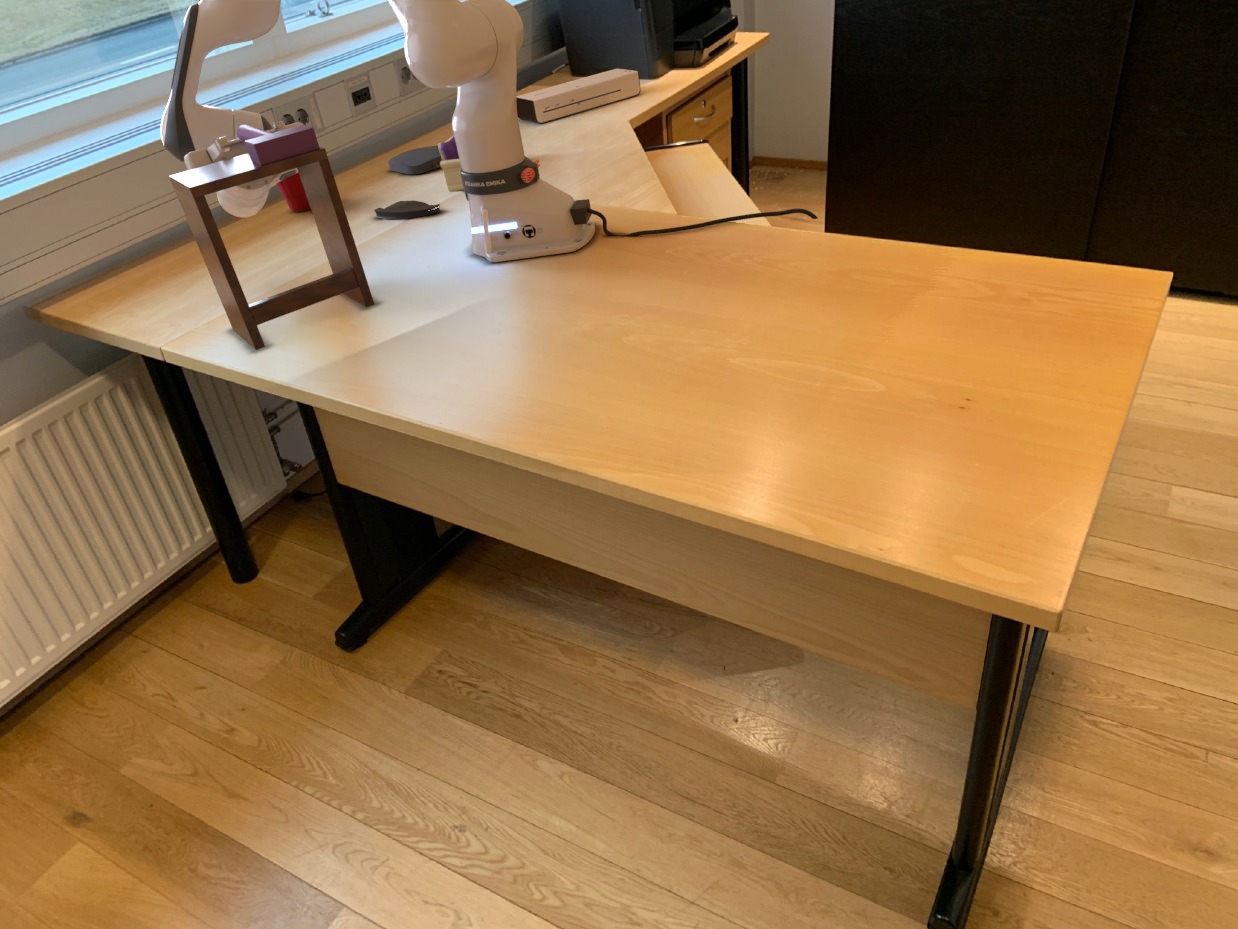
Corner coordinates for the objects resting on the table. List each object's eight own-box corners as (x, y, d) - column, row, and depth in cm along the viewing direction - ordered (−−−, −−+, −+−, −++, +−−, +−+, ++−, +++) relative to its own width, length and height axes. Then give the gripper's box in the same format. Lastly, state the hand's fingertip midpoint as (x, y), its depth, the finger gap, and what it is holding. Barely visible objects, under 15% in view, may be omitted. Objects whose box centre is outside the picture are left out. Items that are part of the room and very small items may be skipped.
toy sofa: (483, 189, 192) (472, 140, 187) (446, 192, 194) (434, 144, 189) (511, 160, 209) (502, 115, 203) (477, 164, 211) (467, 119, 205)
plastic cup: (269, 215, 199) (249, 161, 193) (303, 199, 207) (285, 146, 200) (303, 217, 194) (284, 161, 188) (337, 200, 202) (320, 146, 195)
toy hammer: (220, 148, 142) (213, 129, 140) (274, 133, 146) (268, 114, 144) (261, 165, 127) (253, 144, 126) (319, 148, 131) (313, 127, 130)
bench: (346, 287, 153) (297, 139, 139) (374, 304, 145) (325, 148, 131) (233, 329, 144) (168, 175, 131) (256, 350, 136) (189, 187, 122)
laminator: (537, 125, 236) (532, 100, 233) (515, 120, 245) (511, 96, 242) (641, 94, 249) (638, 70, 246) (617, 90, 259) (614, 67, 255)
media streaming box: (384, 170, 219) (381, 158, 217) (434, 153, 226) (431, 141, 224) (415, 177, 209) (411, 164, 207) (466, 159, 216) (463, 146, 215)
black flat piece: (420, 222, 179) (418, 214, 178) (374, 218, 186) (372, 210, 185) (448, 208, 184) (446, 200, 183) (402, 204, 191) (400, 197, 190)
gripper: (176, 168, 148) (176, 132, 135) (292, 135, 157) (303, 98, 144) (194, 203, 148) (196, 171, 136) (309, 168, 157) (321, 135, 145)
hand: (252, 133), depth 140 cm, fingers open, 8 cm apart
